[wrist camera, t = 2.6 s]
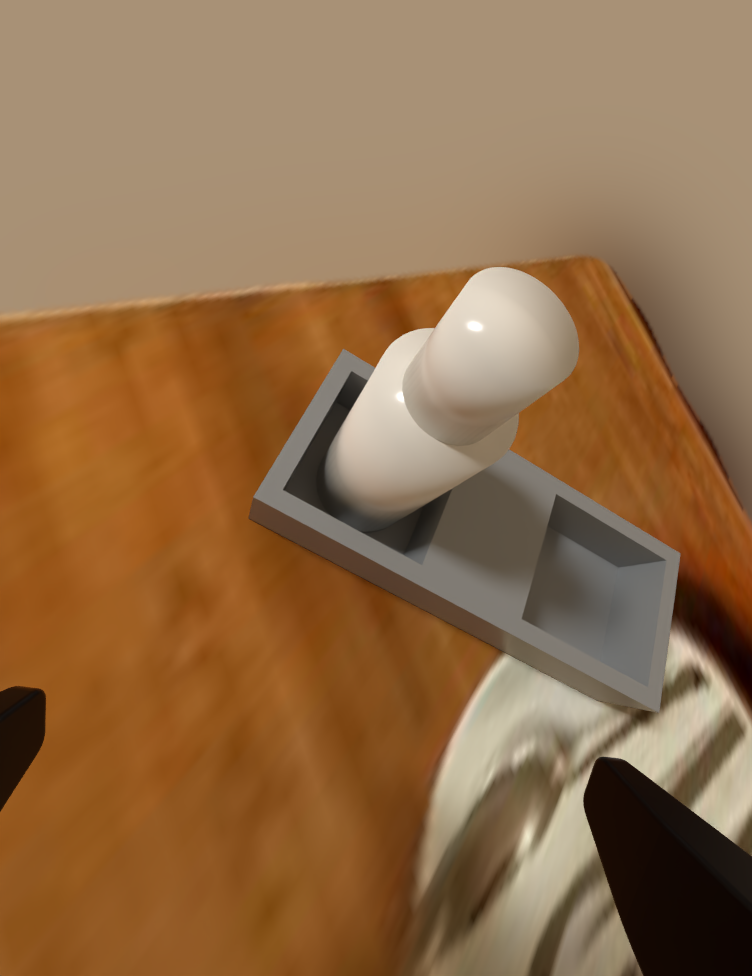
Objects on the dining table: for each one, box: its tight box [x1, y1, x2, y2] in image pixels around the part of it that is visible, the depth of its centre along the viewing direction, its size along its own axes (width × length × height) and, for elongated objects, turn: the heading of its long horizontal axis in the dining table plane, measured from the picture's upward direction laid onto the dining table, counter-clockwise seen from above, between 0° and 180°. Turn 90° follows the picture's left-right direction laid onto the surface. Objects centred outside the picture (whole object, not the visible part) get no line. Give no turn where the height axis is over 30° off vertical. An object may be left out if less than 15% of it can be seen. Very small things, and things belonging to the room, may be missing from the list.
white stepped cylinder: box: [316, 267, 579, 532], centre depth 16 cm, size 5×5×12 cm
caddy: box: [249, 349, 680, 713], centre depth 21 cm, size 8×20×4 cm, turn 65°
